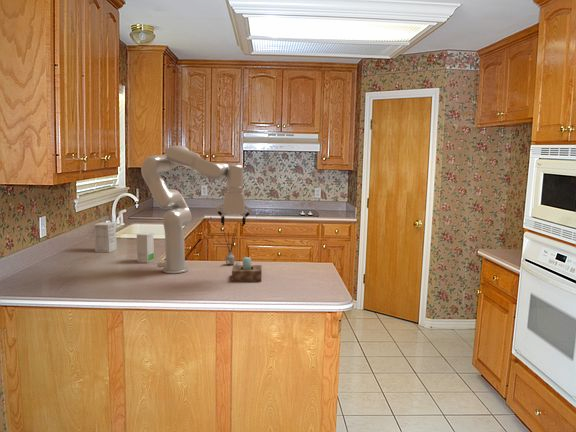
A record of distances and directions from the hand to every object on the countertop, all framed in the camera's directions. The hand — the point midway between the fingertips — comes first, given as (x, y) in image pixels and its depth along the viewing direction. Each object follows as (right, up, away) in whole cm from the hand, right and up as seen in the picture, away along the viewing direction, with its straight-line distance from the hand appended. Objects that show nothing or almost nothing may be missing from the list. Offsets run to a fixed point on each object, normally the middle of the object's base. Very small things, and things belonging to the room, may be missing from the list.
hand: (233, 225), depth 248 cm
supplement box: (-83, -17, +59) cm, 104 cm away
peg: (+7, -26, -1) cm, 27 cm away
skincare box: (-52, -21, +33) cm, 65 cm away
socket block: (+7, -26, -1) cm, 27 cm away
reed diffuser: (-4, -22, +28) cm, 35 cm away
